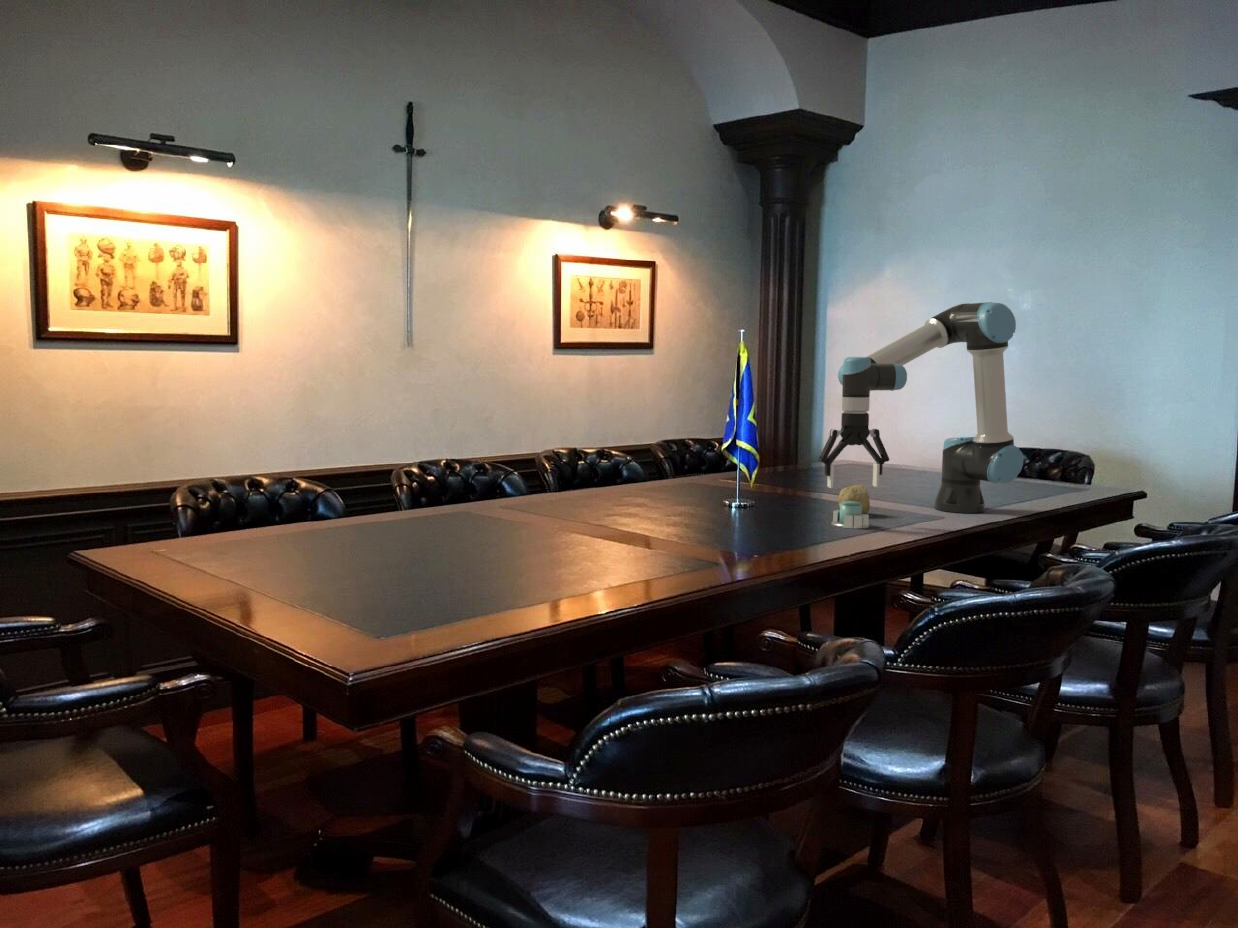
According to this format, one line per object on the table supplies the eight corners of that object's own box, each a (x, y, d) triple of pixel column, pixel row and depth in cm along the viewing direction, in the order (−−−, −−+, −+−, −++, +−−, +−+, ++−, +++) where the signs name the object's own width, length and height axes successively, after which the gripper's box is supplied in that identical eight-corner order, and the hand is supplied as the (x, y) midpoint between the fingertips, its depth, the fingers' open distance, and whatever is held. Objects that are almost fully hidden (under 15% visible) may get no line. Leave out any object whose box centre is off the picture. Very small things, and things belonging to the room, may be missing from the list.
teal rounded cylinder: (856, 521, 297) (857, 500, 297) (864, 524, 291) (865, 503, 291) (836, 521, 296) (837, 500, 296) (844, 525, 290) (845, 504, 290)
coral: (882, 494, 308) (854, 481, 306) (867, 525, 309) (839, 512, 307) (870, 487, 318) (842, 475, 315) (855, 517, 319) (827, 504, 316)
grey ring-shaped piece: (860, 521, 300) (861, 509, 300) (875, 528, 290) (876, 515, 289) (826, 522, 298) (826, 509, 298) (839, 528, 288) (840, 515, 288)
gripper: (891, 410, 296) (888, 484, 299) (808, 411, 292) (806, 485, 294) (902, 412, 289) (900, 487, 291) (817, 413, 285) (815, 489, 287)
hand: (853, 487), depth 293 cm, fingers open, 13 cm apart
